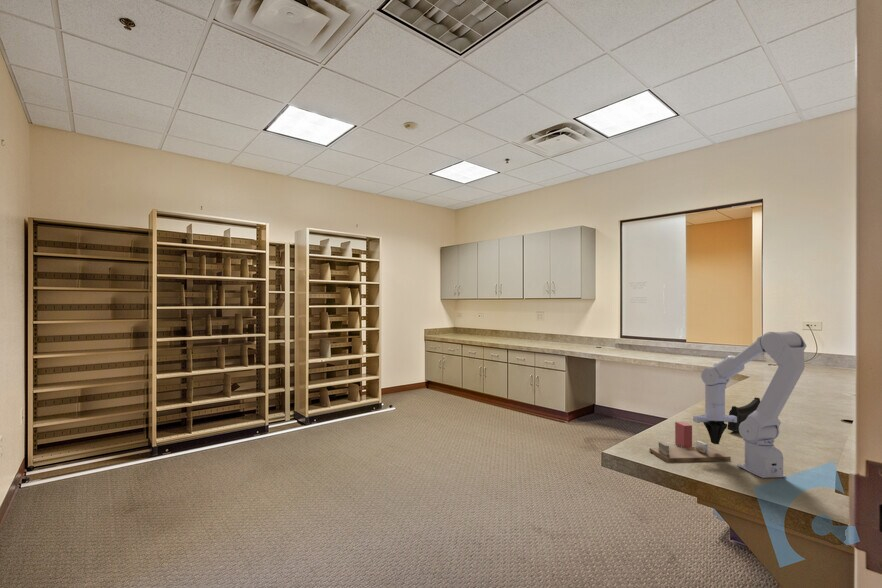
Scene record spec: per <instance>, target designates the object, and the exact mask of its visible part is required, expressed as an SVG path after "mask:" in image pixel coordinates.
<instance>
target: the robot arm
mask: <svg viewBox="0 0 882 588" xmlns="http://www.w3.org/2000/svg"><path fill="white" fill-rule="evenodd" d="M806 348H807V344H806V342H805V340H804V339H803V337H802V335H800V333H798V332H795V331H777V332H776V331H768V332H766V333H764V334H763V335H761V336H759V337H757V339H756V340H755V341H753V342H752V343H751V344H750V345H748V346H747V347H745V349H743V350H742V351H741V352H739V353H738V354H736V355H733V354H732V355H724V356H723V359H722V360H721V361H719V362H718V363H714V364H713V366H712V367H705V368H704V369H703V370H702V372H701V375H700V377H701V380H702V382H703V383H704V384H705V385H704V388H705V389H704V394H705V398H704V400H705V401H704V403H705V404H704V409H705V410H704V411H705V412H704V414H700V415H699V414H698V415H693V416H692V417H693V418H692V420H693V422H694V423H696V424H700V423H703V425H704V426H705V428H706V430H707V433H708V436H709V439H710V442H711V443H712V444H713V445H719V444H720V441H721V439H722V435H723V433H724V432H725V431H726V430H727V428H728V422H737V417H736V416H733V415H729V414H726V390H727V385H728V383H729V382H730V380H731V378H733V377H734V376H736V375H738V374H739V373H741V372H742V371H744V370H745V365H746V364H747V363H749V362H751V361H754V360H755V359H757V358H759V357H760V356H762V355H764V354H765V353H766V354H768V355H769V357H770V358H771V359H772V360H773V361H774V362H775V363H776V364H777V369H776V371H775V372H774V375H773V376H772V379H771V380H770V382H769V385H768V386H767V387H766V390H765V392H764V394H763V396H762V398H761V399H760V401H761V402H760V404H759V405H758V407H757V409H756V410H755V411H754V412H753V413H751V414H750V415H748V417H747V419H746V420H745V421H743V422H741V423H740V425H739V431H738V432H739V435H740V436H741V438H742V439H743V441H744V464H743V463H741V464H737V467H739V468H741V469H742V470H745V471H747V472H749V473H751V474H753V475H755V476H758V477H760V478H764V479H765V478H767V479H769V478H786V477H787V475H786V474H784V455H783V452H782V451H781V450H780V449H779V448H777V447H776V446H775V444H774V443H775V439H777V438H778V437H779V435H780V425H781V423H782V422H781V420H780V419H779V416H780V414H781V413H782V411H783V409H784V407H785V405H786V403H787V401H788V400H789V398H790V396H791V394H792V392H793V391H794V389H795V386H796V385H797V383H798V381H799V380H800V378H801V376H802V374H803V372H804V370H805V350H806Z"/></svg>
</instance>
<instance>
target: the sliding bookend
mask: <svg viewBox="0 0 882 588" xmlns="http://www.w3.org/2000/svg"><path fill="white" fill-rule="evenodd" d="M695 445H696V446H695V447H696V450H698V451H700V452H702V453H708V447H709V446H708V444H707V443H705V442H704V441H701V440H695Z"/></svg>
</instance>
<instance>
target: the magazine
mask: <svg viewBox="0 0 882 588" xmlns="http://www.w3.org/2000/svg"><path fill="white" fill-rule="evenodd" d="M760 402H761V398H760V397H757V396H756V397H754V398H753V400H751V401H750V402H749V403H747V404H746V405H743V406H739V407H737V406H736V405H733V406H731V409H730V410H729V412H728V415H733V416H736V417H737V422H727V428H726V430H727V431H728V430H729V431H731V432H739V425H740V423H741V422H743V421H745V420H746V419H747V417H748V415H750V414H751V413H753V412H754V411H755V410H756V409H757V407H758V405H759V404H760Z"/></svg>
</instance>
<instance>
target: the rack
mask: <svg viewBox="0 0 882 588" xmlns="http://www.w3.org/2000/svg"><path fill="white" fill-rule="evenodd" d="M651 452H652V453H651ZM649 453H651V454H653V455H655V456H656V455H657V456H656V457H658V458H659V459H661V460H663V461H665V462H667V463H681V462H682V463H684V462H685V463H687V462H691V463H692V462H715V461H716V462H719V461H721V462H722V461H723V462H725V461H731V460H732V459H731V457H732V456H730V455H728V454H725V453H723V452H721V451H719V450H717V449H715V448H713V447H710V446H708V453H702V452H700V451H698V450H696V446H692V447H681V446H679V447H677V446H676V447H670V445H668V444H667V443H664V442H663V441H658V447H650V448H649Z"/></svg>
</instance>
